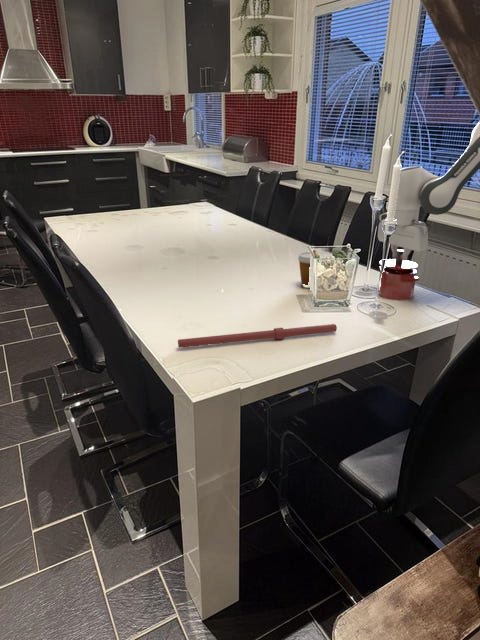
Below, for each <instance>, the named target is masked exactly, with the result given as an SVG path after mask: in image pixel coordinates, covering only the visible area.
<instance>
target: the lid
mask: <svg viewBox="0 0 480 640" xmlns="http://www.w3.org/2000/svg"><path fill="white" fill-rule="evenodd" d="M403 253H404V251H403V249H398V250H397V253H396V258H392V259H391V258H389V259H387V258H386V259H385V260H386V261H385V266H384V267H387V268H390V269H395V270H412V269H415V270H416V269H418V268H419V264H418V263H416V262H414V261H411V260H406V261H402V260H400V255H403ZM382 260H383V259H381V260H380V261H379V263H378V264H379V265H380V267H381V266H382Z"/></svg>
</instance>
